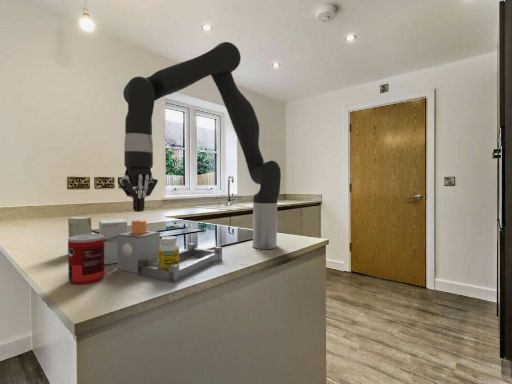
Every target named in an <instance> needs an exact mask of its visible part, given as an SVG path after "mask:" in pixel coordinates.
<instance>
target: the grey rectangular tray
mask: <svg viewBox="0 0 512 384" xmlns="http://www.w3.org/2000/svg"><path fill="white" fill-rule="evenodd" d="M191 257H196V258H198V259H196V260H193V261H191V262H189V263H187V264H186V263H185V264H184V265H182V266H180V264H179V265H176V264H172V265H170V266H169V269H164V268H159V259H157V260H154V261H151V262H148V259H140V260H138V273H137V276H141V277H145V278H149V279H155V280H158V281H165V282H170V283H177V282H178V281H180V280H183V279H184V278H186V277H189V276H190V275H192V274H194V273H197V272H198V271H200V270H202V269H205V268H206V267H209V266H211V265H213V264H214V263H217V262H218V261H219V262H220V261H222V259H223V246H215V247H214V248H213V249H208V248H200V247H196V242H195V243H193V242H190V243H187V248H186V249H183V250H179V262H181V261H184V260H187V259H189V258H191Z"/></svg>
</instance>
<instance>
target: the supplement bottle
mask: <svg viewBox="0 0 512 384" xmlns="http://www.w3.org/2000/svg"><path fill="white" fill-rule="evenodd" d="M160 238H161V239H160V242H161V244H160V247H159V268H164V269H169V266H170V265H172V264H176V265H179V266H180V261H179V251H180V247H179V245H178V244H177V237H176V236H172V235H171V236H163V237H160Z"/></svg>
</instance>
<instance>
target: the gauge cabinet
mask: <svg viewBox="0 0 512 384" xmlns="http://www.w3.org/2000/svg"><path fill="white" fill-rule="evenodd" d="M160 238H161V234H160V232H159V231H153V230H146V234H142V235H132V234H131V231H127V232H126V233H121V234H117V262H118V263H117V270H121V271H126V272H129V273H130V272H131V273H135V274H138V260H140V259H148V262H151V261H154V260H157V259H159V247H160V246H161V244H160V242H161V239H160Z"/></svg>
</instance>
